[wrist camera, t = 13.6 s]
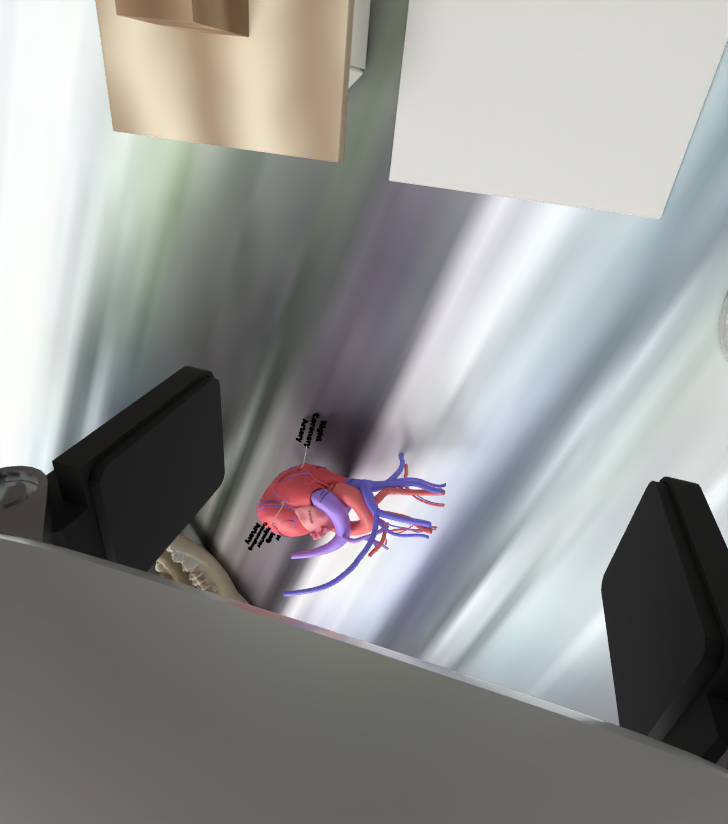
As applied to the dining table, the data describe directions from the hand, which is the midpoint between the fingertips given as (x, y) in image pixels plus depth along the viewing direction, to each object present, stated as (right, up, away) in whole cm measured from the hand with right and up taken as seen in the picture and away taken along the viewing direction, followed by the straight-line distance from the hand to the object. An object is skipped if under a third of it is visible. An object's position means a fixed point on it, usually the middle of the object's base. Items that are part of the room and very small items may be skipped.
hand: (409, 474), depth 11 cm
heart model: (-2, -3, +39) cm, 39 cm away
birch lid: (-9, +24, +17) cm, 31 cm away
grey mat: (+10, +24, +19) cm, 32 cm away
